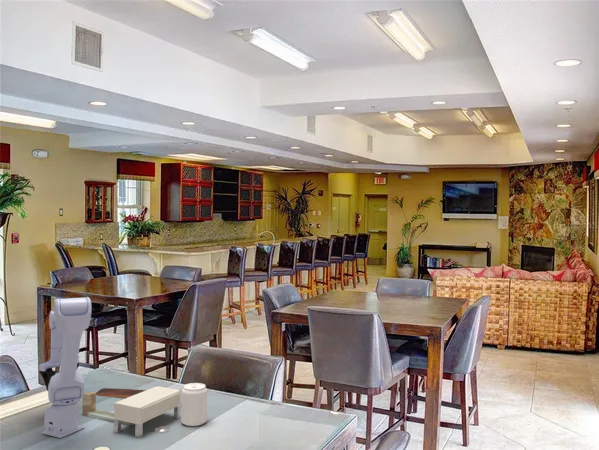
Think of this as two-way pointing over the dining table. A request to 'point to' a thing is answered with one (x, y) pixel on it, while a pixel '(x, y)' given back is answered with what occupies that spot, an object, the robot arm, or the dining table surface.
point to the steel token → (162, 429)
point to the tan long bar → (91, 411)
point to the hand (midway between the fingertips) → (59, 387)
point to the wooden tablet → (118, 392)
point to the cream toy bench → (146, 407)
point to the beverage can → (194, 404)
